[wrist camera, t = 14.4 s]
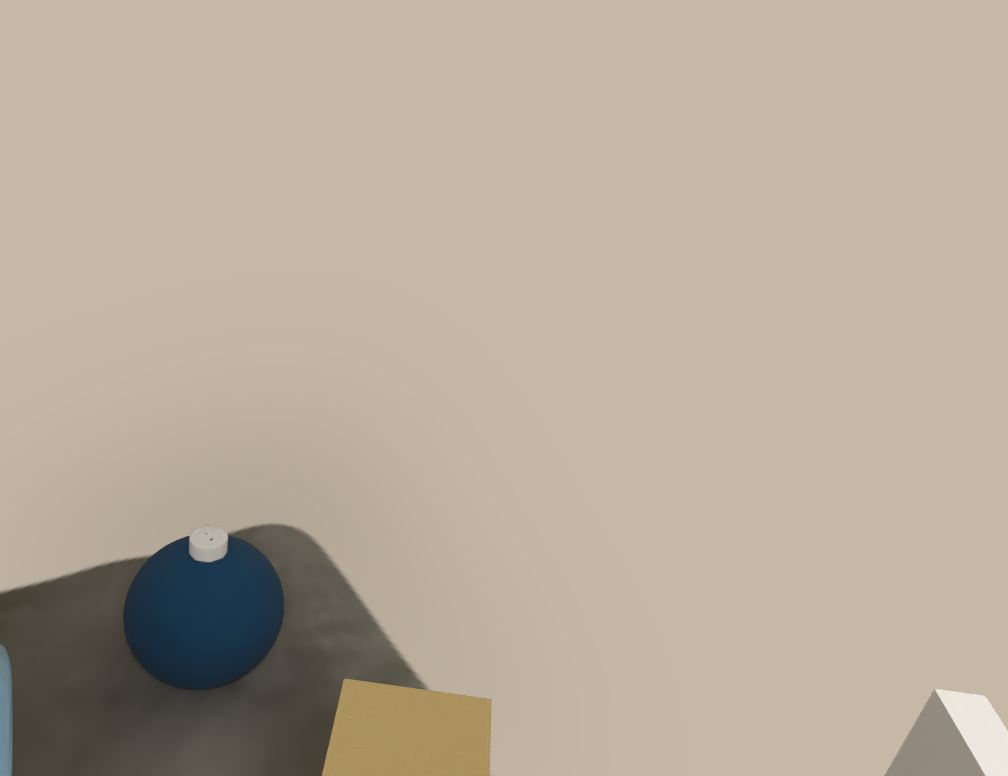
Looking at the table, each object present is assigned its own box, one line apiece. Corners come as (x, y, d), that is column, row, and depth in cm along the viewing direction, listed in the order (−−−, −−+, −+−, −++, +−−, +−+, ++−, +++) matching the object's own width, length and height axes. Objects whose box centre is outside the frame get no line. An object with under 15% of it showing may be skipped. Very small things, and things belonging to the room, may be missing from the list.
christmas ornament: (306, 679, 50) (321, 543, 45) (166, 750, 44) (168, 602, 39) (234, 595, 54) (241, 465, 50) (99, 649, 49) (94, 508, 44)
